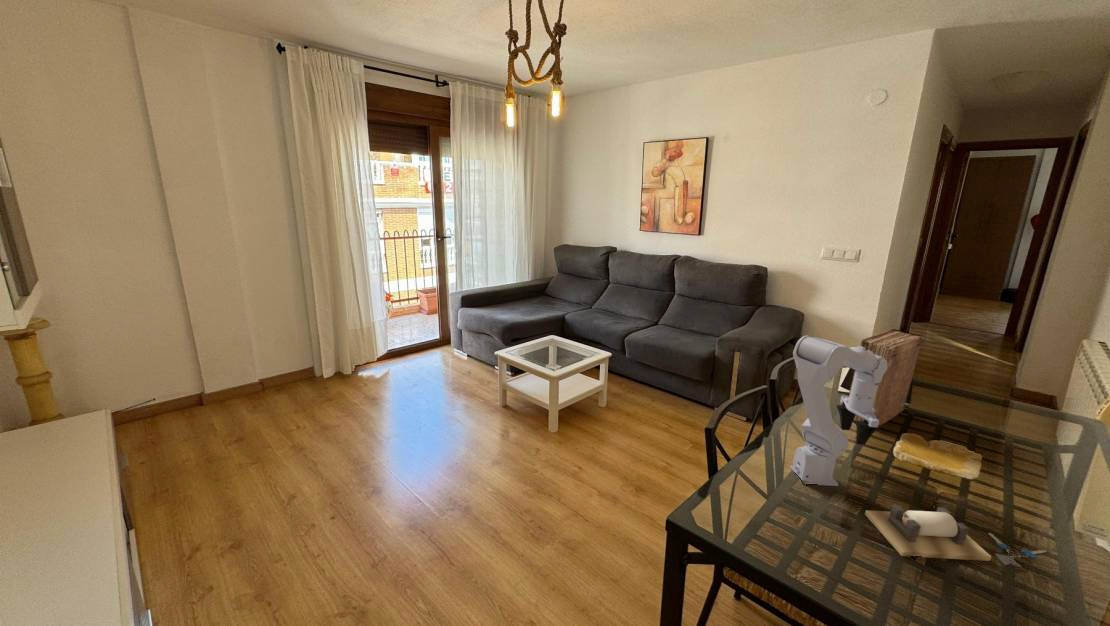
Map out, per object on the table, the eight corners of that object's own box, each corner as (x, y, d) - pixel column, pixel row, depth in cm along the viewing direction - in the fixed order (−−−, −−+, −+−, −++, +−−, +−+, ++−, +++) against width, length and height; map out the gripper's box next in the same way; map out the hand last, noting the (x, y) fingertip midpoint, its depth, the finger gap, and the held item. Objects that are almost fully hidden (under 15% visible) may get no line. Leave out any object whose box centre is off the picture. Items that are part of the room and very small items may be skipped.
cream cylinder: (903, 537, 103) (918, 531, 99) (894, 513, 106) (907, 507, 102) (952, 539, 102) (968, 534, 98) (941, 516, 106) (956, 509, 102)
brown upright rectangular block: (871, 430, 150) (892, 347, 142) (842, 418, 157) (861, 339, 149) (903, 412, 164) (923, 335, 155) (875, 401, 171) (893, 328, 163)
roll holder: (901, 555, 98) (907, 535, 96) (864, 514, 110) (869, 495, 109) (989, 560, 97) (997, 540, 96) (942, 518, 110) (948, 499, 108)
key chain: (1015, 572, 95) (1017, 569, 95) (969, 545, 102) (970, 542, 102) (1046, 553, 100) (1048, 550, 100) (1000, 528, 107) (1001, 525, 107)
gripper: (895, 406, 117) (883, 451, 121) (861, 383, 131) (852, 424, 135) (867, 405, 117) (856, 450, 121) (837, 382, 131) (828, 423, 135)
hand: (852, 436), depth 128 cm, fingers open, 7 cm apart
